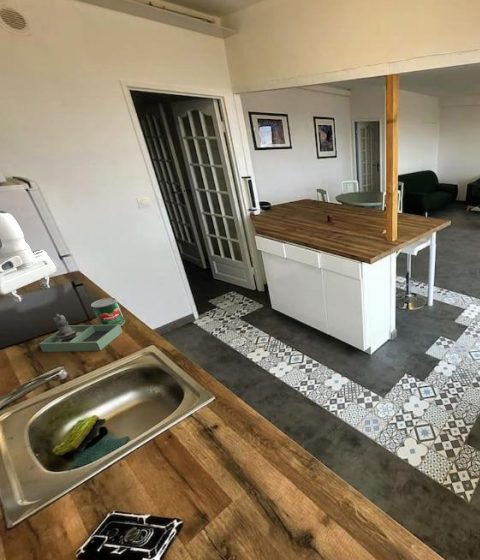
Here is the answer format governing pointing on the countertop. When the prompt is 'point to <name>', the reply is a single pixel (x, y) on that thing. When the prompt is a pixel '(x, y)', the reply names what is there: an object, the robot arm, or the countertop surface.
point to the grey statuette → (64, 329)
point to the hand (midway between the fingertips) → (33, 294)
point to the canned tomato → (108, 311)
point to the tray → (83, 338)
